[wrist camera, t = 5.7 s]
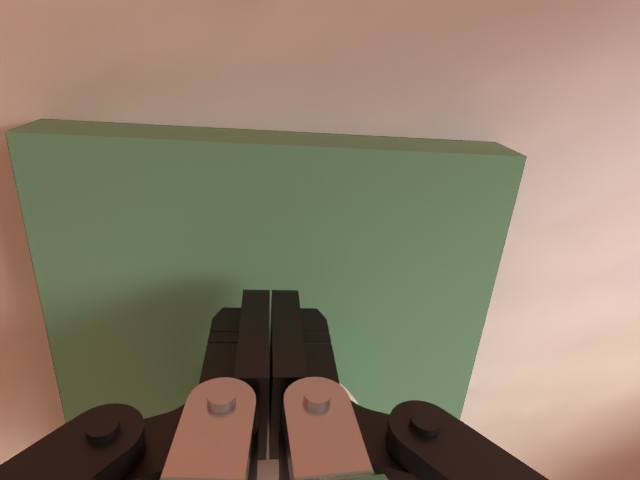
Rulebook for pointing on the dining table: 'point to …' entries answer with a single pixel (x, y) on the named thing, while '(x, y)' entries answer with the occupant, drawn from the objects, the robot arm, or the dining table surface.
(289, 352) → the robot arm
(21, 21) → the dining table surface
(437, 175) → the putting mat
